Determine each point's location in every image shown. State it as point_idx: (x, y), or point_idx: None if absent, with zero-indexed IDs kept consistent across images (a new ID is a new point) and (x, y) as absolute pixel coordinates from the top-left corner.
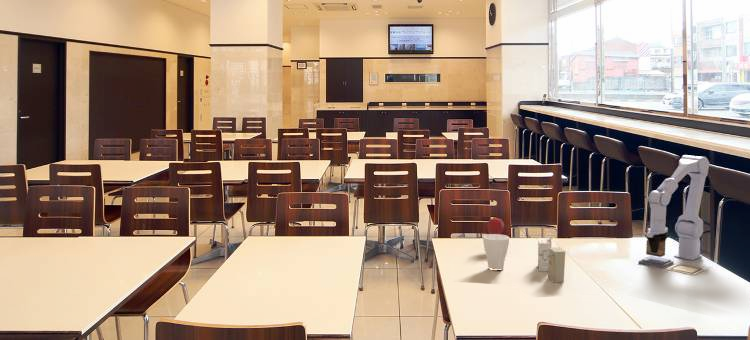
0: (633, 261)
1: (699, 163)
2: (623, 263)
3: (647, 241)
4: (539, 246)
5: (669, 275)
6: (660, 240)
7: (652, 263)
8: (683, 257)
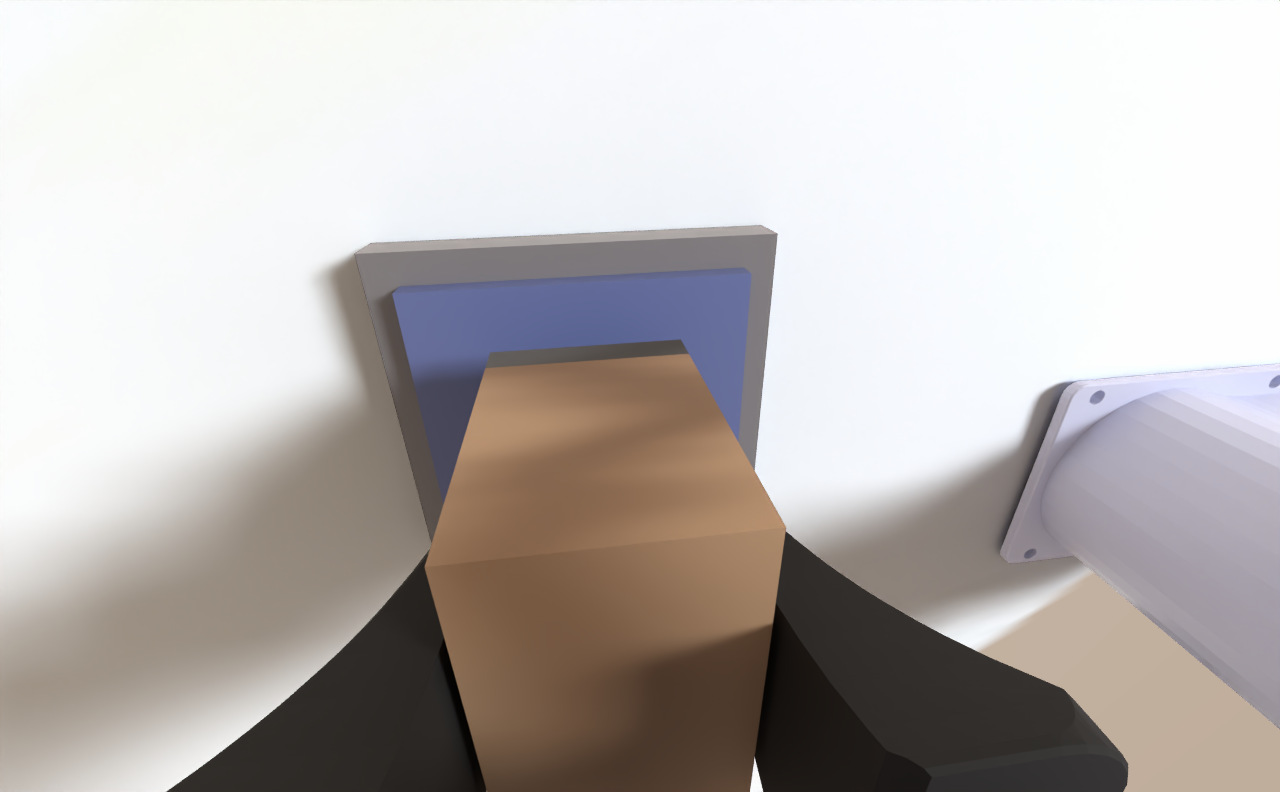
0: (415, 101)
1: None
2: (93, 29)
3: (435, 563)
4: None
5: (275, 689)
6: (738, 740)
7: (415, 462)
8: (1035, 483)
